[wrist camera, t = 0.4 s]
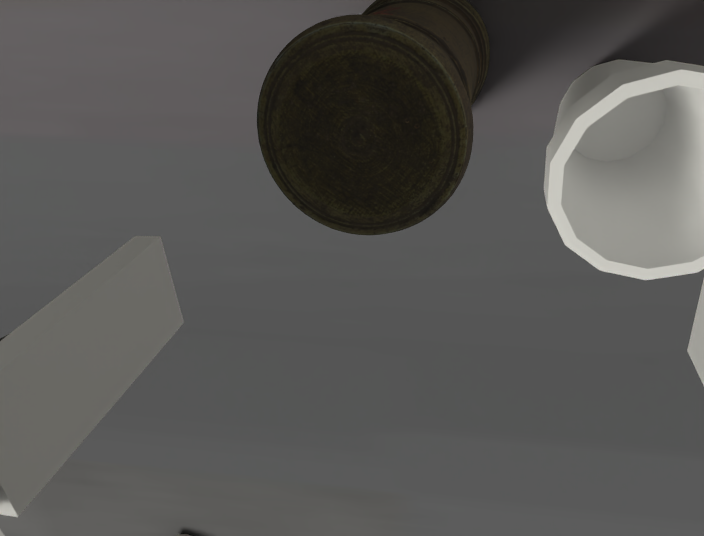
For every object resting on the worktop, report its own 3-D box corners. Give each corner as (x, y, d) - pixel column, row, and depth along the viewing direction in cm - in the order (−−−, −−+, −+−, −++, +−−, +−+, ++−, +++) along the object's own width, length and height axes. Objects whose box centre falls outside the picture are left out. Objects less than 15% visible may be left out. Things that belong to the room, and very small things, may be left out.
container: (509, 4, 34) (518, 44, 19) (462, 145, 39) (438, 271, 23) (366, -34, 35) (261, -25, 19) (337, 109, 39) (233, 208, 24)
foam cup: (585, 5, 33) (627, 31, 22) (731, 68, 33) (849, 126, 22) (507, 150, 38) (510, 231, 27) (634, 205, 38) (689, 309, 27)
